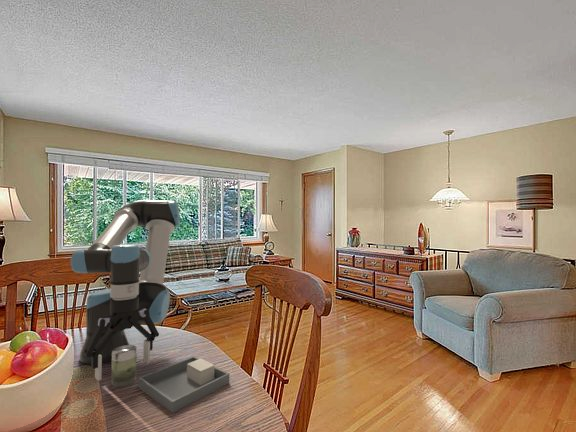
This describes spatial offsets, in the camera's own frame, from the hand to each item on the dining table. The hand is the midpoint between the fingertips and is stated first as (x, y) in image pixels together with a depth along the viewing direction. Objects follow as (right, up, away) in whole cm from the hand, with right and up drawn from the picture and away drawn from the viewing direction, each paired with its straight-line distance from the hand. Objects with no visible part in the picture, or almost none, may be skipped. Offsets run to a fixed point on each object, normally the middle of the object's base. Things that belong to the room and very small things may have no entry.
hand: (123, 369), depth 90 cm
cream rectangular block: (+22, -3, +2) cm, 22 cm away
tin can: (0, -4, 0) cm, 4 cm away
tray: (+19, -4, -2) cm, 19 cm away
